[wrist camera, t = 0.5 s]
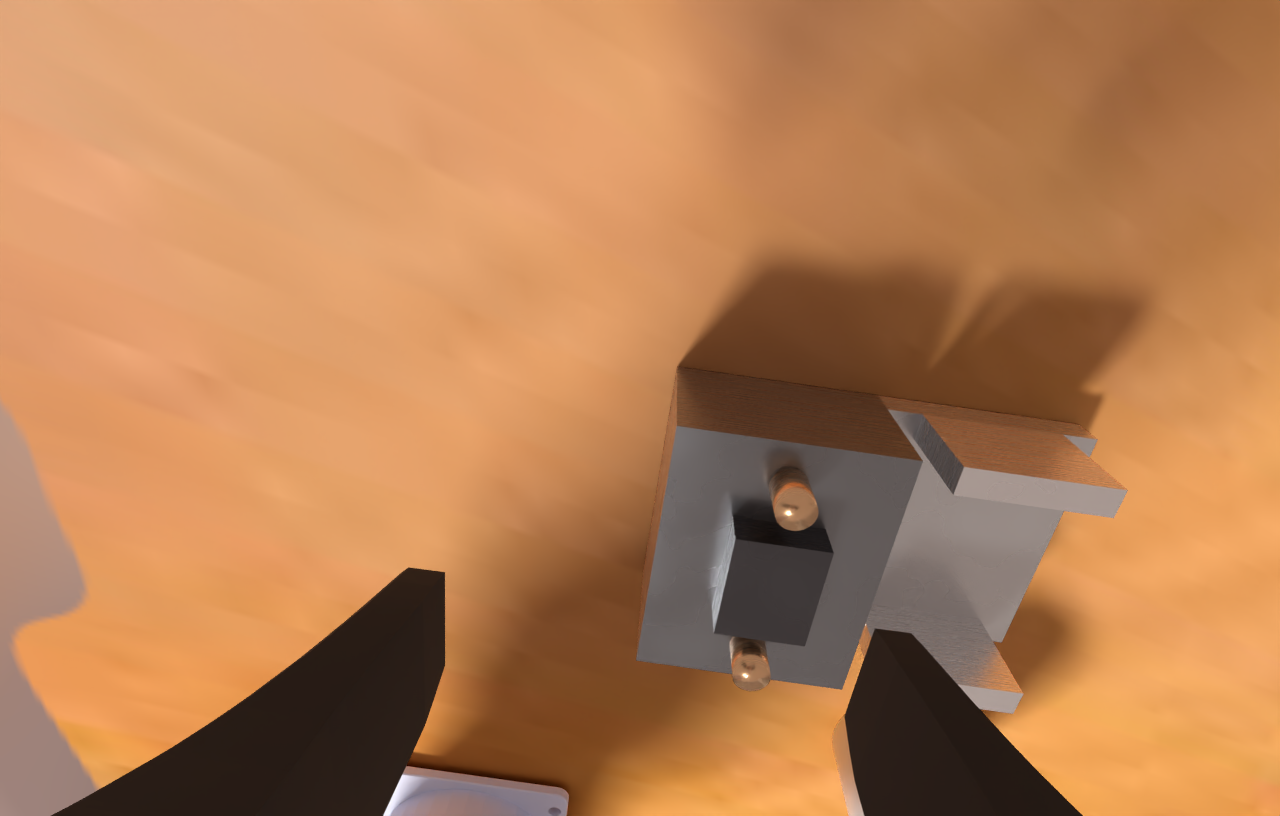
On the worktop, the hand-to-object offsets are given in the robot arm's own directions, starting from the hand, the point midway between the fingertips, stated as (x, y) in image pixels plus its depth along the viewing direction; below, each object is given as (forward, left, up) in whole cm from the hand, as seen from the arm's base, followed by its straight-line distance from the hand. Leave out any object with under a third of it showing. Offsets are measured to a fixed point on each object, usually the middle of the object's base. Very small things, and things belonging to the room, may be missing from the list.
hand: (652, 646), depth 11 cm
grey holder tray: (-2, -6, -10) cm, 12 cm away
